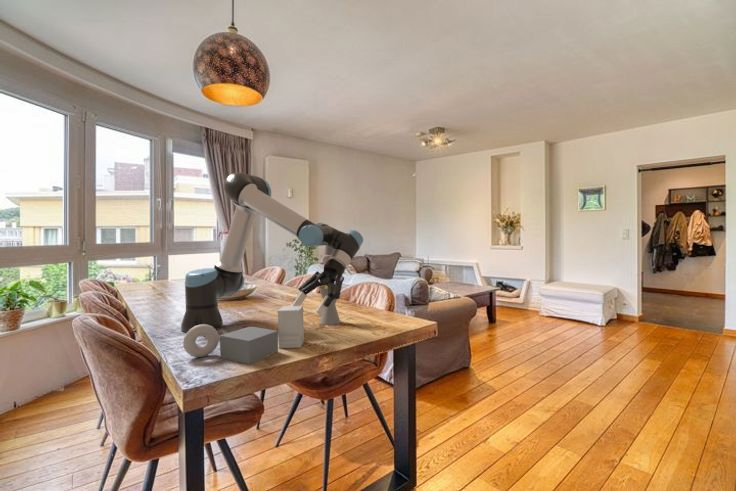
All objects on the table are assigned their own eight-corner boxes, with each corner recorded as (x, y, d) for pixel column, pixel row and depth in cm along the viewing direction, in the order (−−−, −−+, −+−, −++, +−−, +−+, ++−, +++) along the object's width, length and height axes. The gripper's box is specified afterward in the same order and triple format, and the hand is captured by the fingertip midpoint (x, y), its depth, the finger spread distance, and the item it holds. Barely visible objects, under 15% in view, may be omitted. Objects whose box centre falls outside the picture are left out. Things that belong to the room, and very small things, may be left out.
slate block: (220, 358, 107) (220, 335, 107) (250, 347, 118) (250, 326, 117) (248, 365, 101) (248, 340, 101) (278, 352, 112) (277, 330, 112)
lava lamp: (321, 319, 154) (321, 239, 153) (342, 319, 154) (341, 239, 153) (317, 325, 145) (316, 240, 144) (339, 325, 145) (338, 240, 144)
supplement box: (304, 341, 123) (304, 305, 123) (300, 348, 116) (300, 310, 115) (283, 341, 123) (282, 305, 123) (277, 348, 116) (277, 310, 115)
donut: (184, 361, 104) (183, 328, 103) (182, 358, 106) (182, 325, 106) (220, 355, 109) (219, 323, 109) (218, 352, 112) (217, 320, 112)
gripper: (366, 273, 127) (336, 322, 116) (320, 269, 143) (290, 312, 133) (355, 259, 122) (323, 309, 112) (310, 256, 139) (278, 300, 128)
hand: (305, 311), depth 122 cm, fingers open, 13 cm apart
